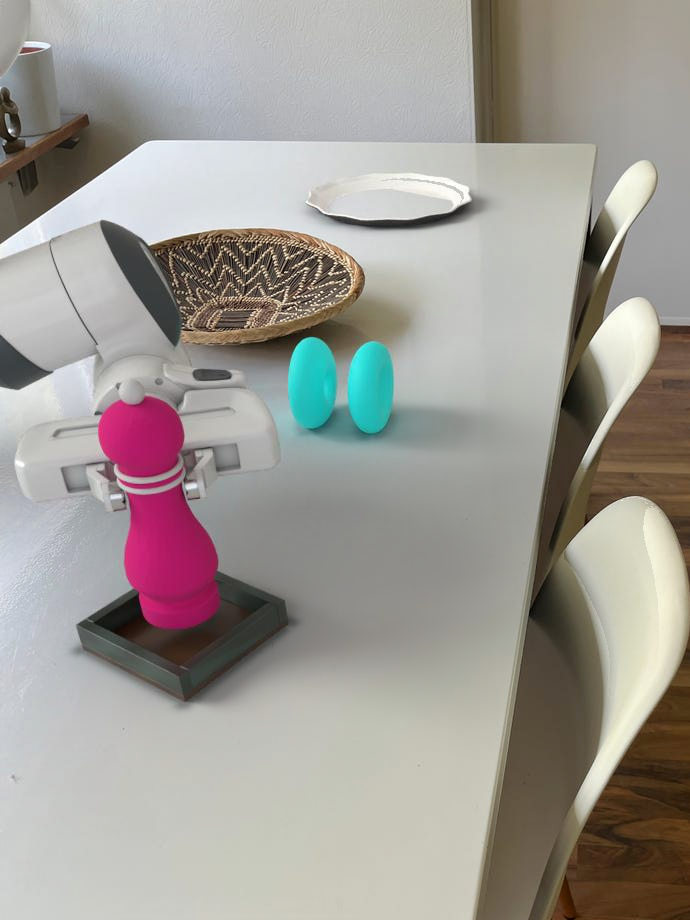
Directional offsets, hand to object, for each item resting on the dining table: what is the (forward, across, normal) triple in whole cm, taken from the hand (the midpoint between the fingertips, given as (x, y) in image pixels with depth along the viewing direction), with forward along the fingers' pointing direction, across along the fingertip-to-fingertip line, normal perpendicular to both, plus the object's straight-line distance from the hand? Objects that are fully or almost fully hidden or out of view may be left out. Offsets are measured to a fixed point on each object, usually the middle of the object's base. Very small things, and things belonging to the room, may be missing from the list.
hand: (156, 497), depth 77 cm
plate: (-118, +44, +15) cm, 127 cm away
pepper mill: (-1, 0, +11) cm, 11 cm away
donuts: (-36, +20, +15) cm, 44 cm away
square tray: (-1, 0, +14) cm, 14 cm away
